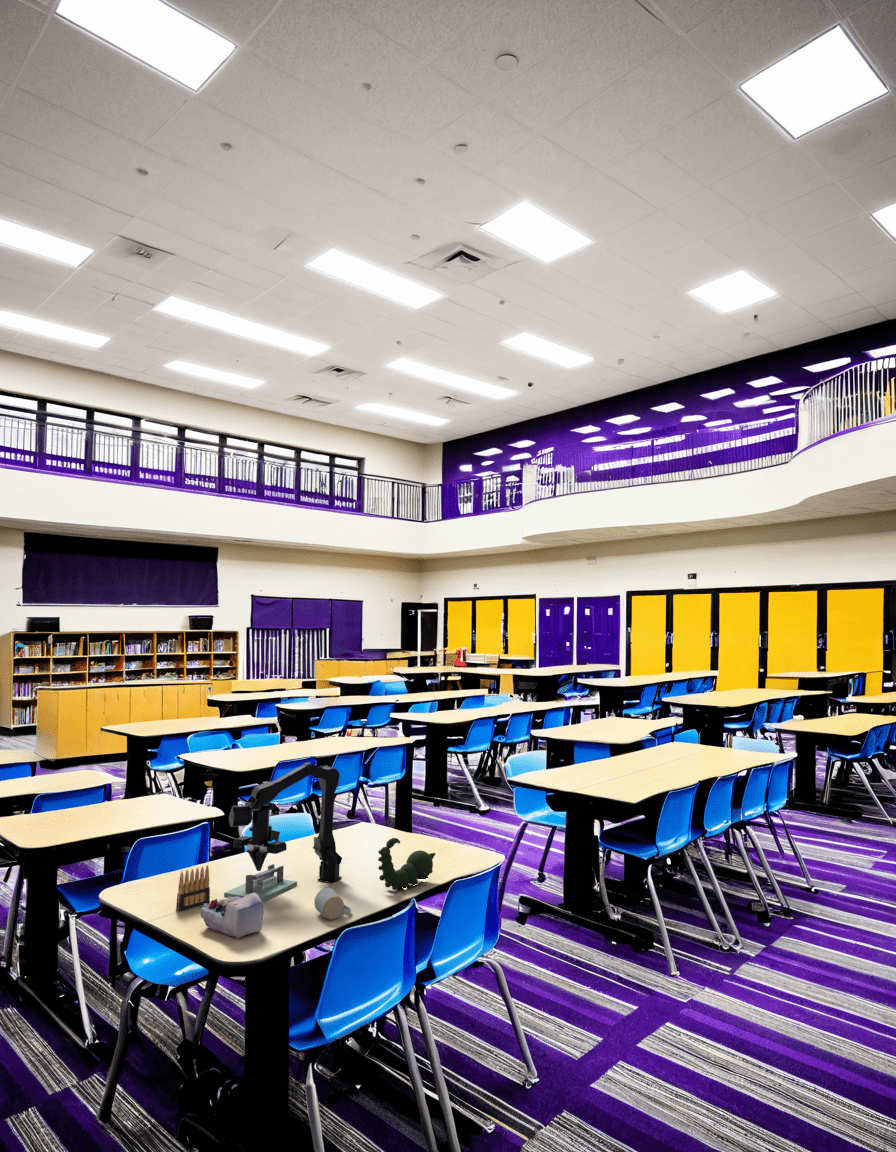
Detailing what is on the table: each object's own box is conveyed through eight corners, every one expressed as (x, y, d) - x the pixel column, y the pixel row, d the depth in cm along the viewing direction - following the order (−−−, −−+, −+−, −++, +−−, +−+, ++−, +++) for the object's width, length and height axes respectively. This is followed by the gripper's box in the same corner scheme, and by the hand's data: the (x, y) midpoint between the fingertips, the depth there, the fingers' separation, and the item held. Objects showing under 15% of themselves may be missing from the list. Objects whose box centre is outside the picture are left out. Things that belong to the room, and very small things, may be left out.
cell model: (237, 904, 201) (196, 891, 213) (236, 944, 199) (195, 929, 211) (274, 892, 211) (232, 880, 223) (273, 930, 210) (232, 916, 222)
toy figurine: (392, 902, 239) (445, 879, 256) (389, 845, 240) (442, 826, 257) (374, 895, 245) (427, 873, 263) (371, 839, 246) (424, 821, 264)
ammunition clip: (206, 902, 233) (208, 864, 234) (209, 903, 232) (211, 865, 233) (175, 910, 225) (177, 871, 226) (178, 912, 224) (180, 872, 225)
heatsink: (277, 884, 247) (277, 875, 247) (262, 891, 240) (262, 882, 240) (260, 882, 250) (261, 873, 250) (245, 888, 242) (245, 879, 243)
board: (296, 885, 250) (297, 881, 251) (259, 902, 232) (260, 899, 232) (262, 879, 257) (262, 875, 257) (224, 896, 239) (224, 892, 239)
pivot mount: (283, 880, 252) (283, 865, 252) (278, 882, 249) (278, 867, 250) (272, 878, 254) (272, 864, 254) (267, 880, 251) (267, 866, 252)
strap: (273, 870, 253) (273, 867, 253) (279, 871, 252) (279, 868, 252) (249, 878, 242) (250, 876, 242) (256, 880, 240) (256, 877, 240)
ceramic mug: (322, 923, 215) (323, 896, 216) (313, 914, 222) (314, 888, 223) (355, 917, 221) (356, 891, 222) (345, 909, 228) (346, 884, 229)
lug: (255, 891, 240) (255, 874, 240) (250, 893, 238) (251, 876, 238) (249, 890, 241) (250, 873, 241) (245, 892, 239) (245, 875, 239)
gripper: (296, 821, 249) (295, 868, 247) (254, 816, 257) (252, 861, 255) (276, 828, 239) (275, 877, 237) (233, 822, 247) (231, 869, 245)
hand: (258, 870), depth 244 cm, fingers closed
